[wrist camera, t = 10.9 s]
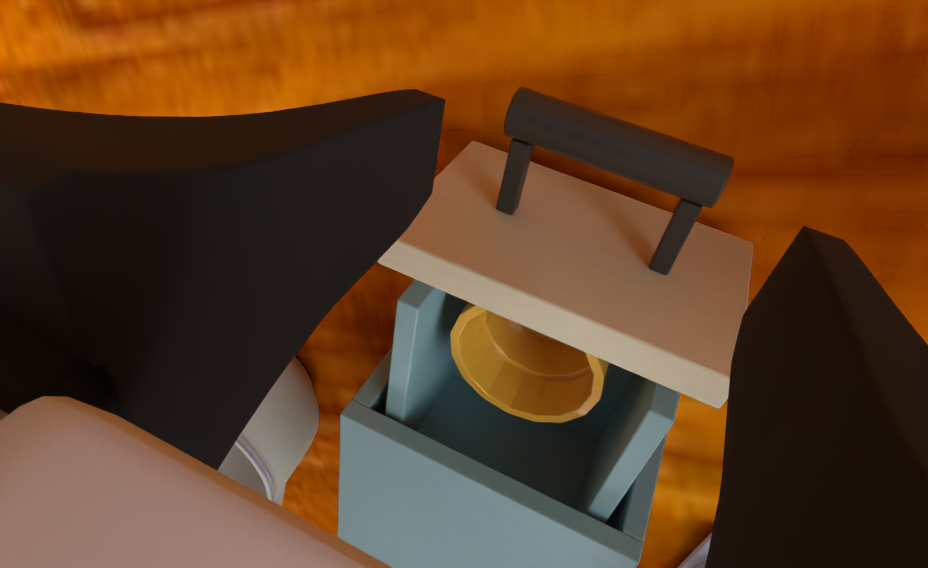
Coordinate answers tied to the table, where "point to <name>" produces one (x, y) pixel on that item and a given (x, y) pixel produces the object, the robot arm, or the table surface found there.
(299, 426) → the teacup
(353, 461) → the cabinet
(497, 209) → the drawer
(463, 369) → the bowl
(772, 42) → the table surface
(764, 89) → the table surface
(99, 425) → the robot arm
